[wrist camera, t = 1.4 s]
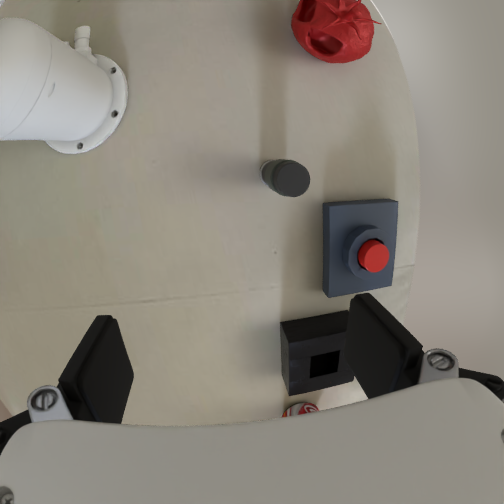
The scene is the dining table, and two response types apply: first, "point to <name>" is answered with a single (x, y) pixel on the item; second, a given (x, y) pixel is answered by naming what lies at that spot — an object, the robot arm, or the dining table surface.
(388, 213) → the station
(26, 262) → the dining table surface
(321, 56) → the red tomato
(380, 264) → the power button
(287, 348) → the holder
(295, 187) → the banded grey cylinder
